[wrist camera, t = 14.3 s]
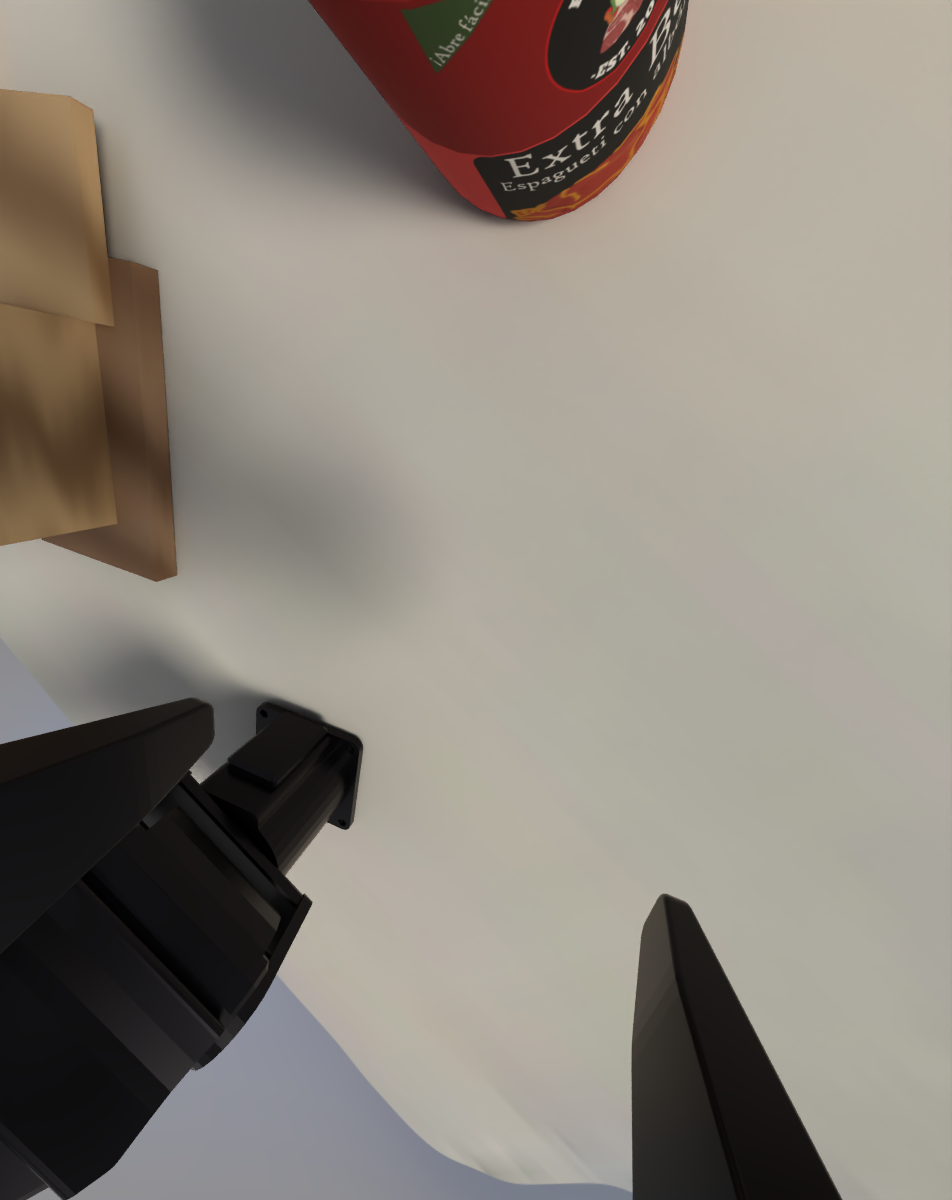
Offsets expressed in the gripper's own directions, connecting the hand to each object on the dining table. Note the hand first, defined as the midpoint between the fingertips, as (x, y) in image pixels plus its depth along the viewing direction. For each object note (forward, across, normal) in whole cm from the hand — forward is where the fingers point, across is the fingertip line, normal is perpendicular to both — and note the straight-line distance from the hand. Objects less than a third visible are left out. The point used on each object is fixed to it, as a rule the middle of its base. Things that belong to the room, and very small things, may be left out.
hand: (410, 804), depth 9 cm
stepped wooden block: (+11, +23, -6) cm, 26 cm away
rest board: (+12, +23, -2) cm, 26 cm away
